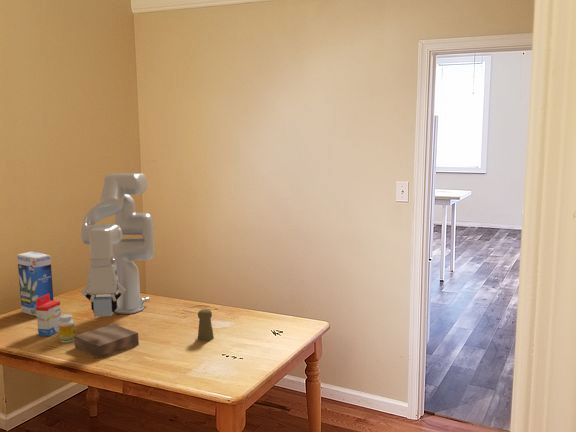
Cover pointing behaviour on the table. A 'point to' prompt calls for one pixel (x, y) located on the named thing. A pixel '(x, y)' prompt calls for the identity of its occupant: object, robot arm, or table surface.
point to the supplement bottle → (66, 328)
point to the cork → (205, 325)
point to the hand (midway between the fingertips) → (104, 310)
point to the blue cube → (103, 305)
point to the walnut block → (106, 340)
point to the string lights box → (34, 279)
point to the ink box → (47, 316)
